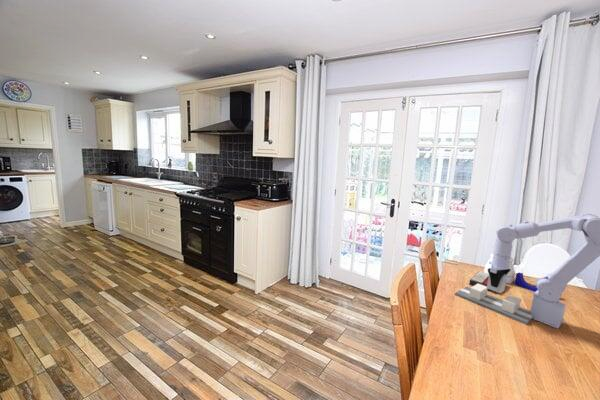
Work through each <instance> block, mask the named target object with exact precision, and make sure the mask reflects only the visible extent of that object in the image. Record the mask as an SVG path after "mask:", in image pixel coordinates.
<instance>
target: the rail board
mask: <svg viewBox="0 0 600 400" xmlns="http://www.w3.org/2000/svg"><path fill="white" fill-rule="evenodd" d="M470 288H471V287H469V286H465V287H463V288H460V289H459V290H458V291H456V292H455V293H454V295H455V296H456V297H458V298H462V299H464V300H465V301H466V300H467V301H468V302H471V303H473V304H475V305H478V306H481V307H483V308H485V309H488V310H490V311H492V312H494V313H497V314H499V315H502V316H504V317H507V318H509V319H512V320H514V321H516V322H519V323H521V324H523V325H526V326H527V325H528V324H530V322H531V321H532V320H533V319H532V318H533V315H532V314H531V313H530V311H531V309H527V308H524V307H522V306H520V308H519V309H518V310H517V311H516V312H515V313H514V314H512V313H510V312H507V311H505V310H502V309H501V307H502V302H503V300H504V299H501V298H498V297H496V296H493V295H491V294H488V293H487V295H486V296H485V297H483V298H482V299H480V300H477V299H475V298H472V297H470V296H469V294H470Z"/></svg>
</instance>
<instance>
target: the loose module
mask: <svg viewBox="0 0 600 400" xmlns="http://www.w3.org/2000/svg"><path fill="white" fill-rule="evenodd" d="M506 278H507V275H506V274H504V276H503V277H502V278H501V280H500V283H499V285H498V287H497V288H496V287H493V286H491V280H490V275H489V278H488V283H487V289H490V290H493V291H496V293H498V294H501V293H503V292H504V291H505V288H506V284H507V283H506Z"/></svg>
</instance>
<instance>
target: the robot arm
mask: <svg viewBox="0 0 600 400" xmlns="http://www.w3.org/2000/svg"><path fill="white" fill-rule="evenodd" d="M565 229H570V230H574V231H577V232H582V233H583V235H584V239H585V243H584V244H583V245H581V247H580V248H579V249H577V251H575V252H574V253H572V255H571V256H570V257H568V259H566V260H565V261H564V262H563V263H562V264H561V265H559V267H557V268H556V270H554V271H553V272H551V273H548V274H547V275H545V276H543V277H539V278H537V279H536V281H535V286H536V287H537V289H538V290H537V291H536V292H534V291H533V292H534V293H533V297H532V302H531V306H530V313H531V314H532V315H533V318H532V320H535V321H538V322H541V323H542V324H545V325H548V326H550V327H552V328H555V329H559V328H560V326H561V325H562V323H564V316H565V312H566V306H567V305H566V303H564V302H561V301H560V299H561V298H562V294H563V292H564V291H566V288H567V286H568V284H569V283H570V282H571V281H572V280H573V279H574V278H576V277H577V276H578V275H579V274H580V273H581V272H583V271H584V270H585V269H586V268H587V267H588V266H590V265H591V264H592V263H594V261H595V260H597V259H598V258H599V257H600V217H599V216H597V215H595V214H591V213H589V214H588V213H587V214H583V215H573V216H568V217H562V218H557V219H553V220H548V221H544V222H539V223H535V222H534V221H528V220H524V221H523V222H521V223H517V224H516V223H515V224H512V223H510V224H509V225H501V226H499V227H498V228H497V229H496V235H497V236H496V239H495V243H494V248H493V253H492V254H493V259H492V261H489V264H491V268H489V269H488V273H489V275H490V280H491V286H493V287H496V288H497V287H498V285H499V283H500V280H501V278H502V277H503V276H504V274H506V275H507V274H508V273H509V272H510V269H509V262H510V256H512V251H513V241H514V240H515V239H518V240H519V239H526V238H532V237H537V236H538V235H539V234H540V233H541V232H549V231H550V232H551V231H558V230H565Z"/></svg>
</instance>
